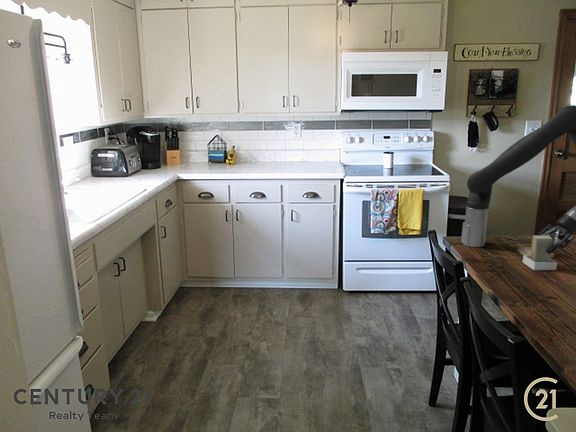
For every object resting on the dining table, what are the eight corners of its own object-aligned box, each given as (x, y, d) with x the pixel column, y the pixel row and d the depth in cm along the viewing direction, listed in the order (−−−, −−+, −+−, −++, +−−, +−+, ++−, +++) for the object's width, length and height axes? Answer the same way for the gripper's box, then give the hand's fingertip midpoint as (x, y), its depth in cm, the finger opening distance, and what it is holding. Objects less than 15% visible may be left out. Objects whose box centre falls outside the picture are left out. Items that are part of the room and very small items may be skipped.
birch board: (528, 257, 203) (528, 254, 202) (517, 250, 212) (517, 247, 211) (553, 257, 203) (554, 254, 203) (542, 250, 212) (542, 247, 212)
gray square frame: (533, 270, 189) (534, 262, 189) (522, 262, 198) (523, 255, 197) (556, 269, 190) (557, 262, 189) (543, 261, 198) (544, 255, 197)
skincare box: (545, 264, 195) (549, 235, 192) (549, 268, 191) (554, 238, 188) (528, 263, 196) (532, 234, 193) (532, 267, 192) (536, 238, 189)
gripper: (556, 209, 196) (525, 237, 198) (579, 218, 182) (545, 248, 184) (567, 221, 197) (536, 249, 200) (590, 232, 184) (557, 261, 186)
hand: (541, 248), depth 192 cm, fingers open, 8 cm apart
